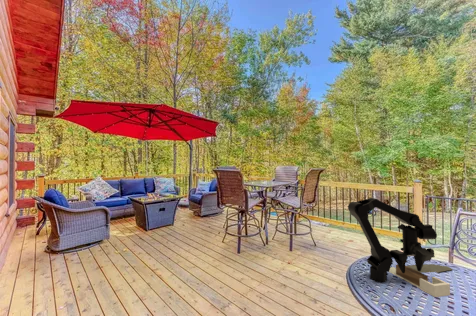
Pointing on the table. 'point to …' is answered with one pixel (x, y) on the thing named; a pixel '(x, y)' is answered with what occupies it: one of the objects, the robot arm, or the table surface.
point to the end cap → (435, 287)
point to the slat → (411, 275)
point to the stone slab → (431, 268)
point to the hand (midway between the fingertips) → (411, 272)
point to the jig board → (393, 271)
